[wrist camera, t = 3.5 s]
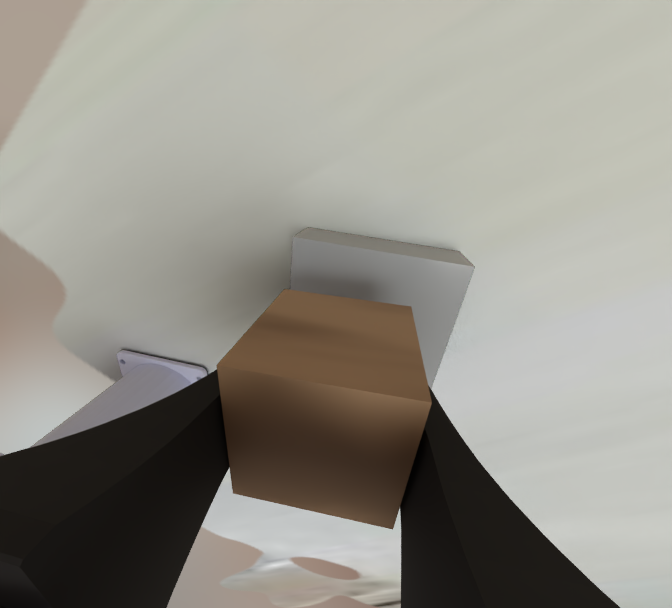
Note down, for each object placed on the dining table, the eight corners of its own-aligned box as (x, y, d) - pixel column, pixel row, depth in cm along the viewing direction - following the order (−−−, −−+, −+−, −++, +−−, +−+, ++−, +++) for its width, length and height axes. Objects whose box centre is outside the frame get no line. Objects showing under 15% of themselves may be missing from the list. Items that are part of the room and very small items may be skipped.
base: (419, 374, 20) (425, 405, 17) (298, 349, 21) (285, 375, 18) (459, 251, 16) (474, 266, 13) (308, 227, 17) (292, 236, 14)
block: (389, 404, 13) (392, 529, 8) (284, 385, 13) (233, 493, 9) (411, 306, 10) (431, 402, 6) (284, 289, 11) (216, 365, 7)
